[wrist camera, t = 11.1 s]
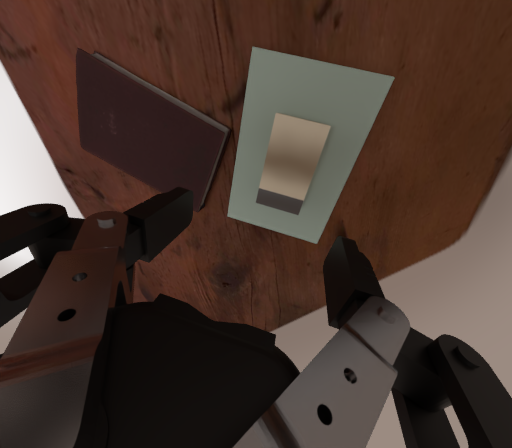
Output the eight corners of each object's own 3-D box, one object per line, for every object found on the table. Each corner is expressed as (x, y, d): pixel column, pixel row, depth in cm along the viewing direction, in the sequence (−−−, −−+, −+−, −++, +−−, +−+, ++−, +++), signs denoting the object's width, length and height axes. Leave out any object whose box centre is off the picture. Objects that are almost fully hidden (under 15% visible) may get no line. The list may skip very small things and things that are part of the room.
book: (205, 206, 31) (195, 215, 29) (97, 146, 31) (76, 149, 28) (234, 130, 25) (225, 131, 22) (98, 51, 24) (70, 42, 21)
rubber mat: (228, 214, 30) (227, 216, 30) (253, 48, 20) (252, 46, 20) (316, 241, 29) (316, 243, 29) (392, 78, 19) (394, 77, 18)
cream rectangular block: (279, 113, 22) (275, 112, 19) (328, 124, 21) (330, 126, 19) (260, 194, 27) (255, 202, 24) (299, 205, 26) (298, 215, 24)
